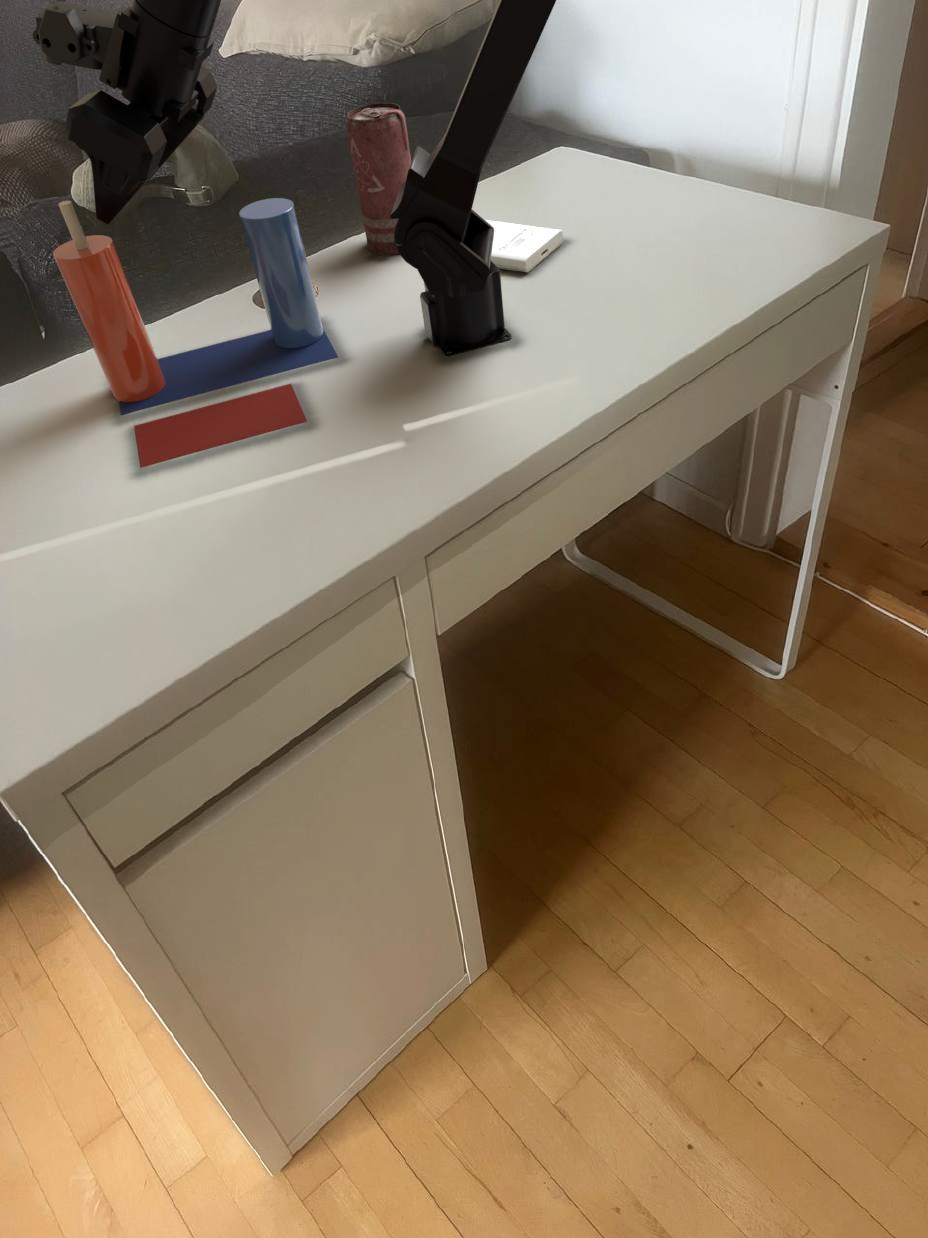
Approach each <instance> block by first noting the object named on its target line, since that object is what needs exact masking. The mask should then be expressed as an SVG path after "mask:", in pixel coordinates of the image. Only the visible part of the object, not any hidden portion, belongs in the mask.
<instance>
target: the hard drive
mask: <svg viewBox="0 0 928 1238" xmlns="http://www.w3.org/2000/svg"><path fill="white" fill-rule="evenodd" d="M484 220H485V221H486V222H488V223H489V224H490V225H491V226H492V227H493V228H494V238H493V246H492V254H491V261H492V262H493V263H494V264H495V265H496V266H497V267H498V268H499V269H501V270H509V271H514V272H524V273H529V272H530V271H532V270H533V269H535V268H536V266H538V265H539V264H540V263H541V262H542V261H544V260H545V259H546V258H547V257H549V255H551V253H553V252H554V251H556V250H557V248H558V247H560V246H561V245H562V243H563V241H564V230H563V229H557V228H549V227H541V226H534V225H526V224H518V223H512V222H506V221H505V222H504V221H498V220H497V221H496V220H490V219H484Z"/></svg>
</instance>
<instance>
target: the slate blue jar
mask: <svg viewBox="0 0 928 1238" xmlns="http://www.w3.org/2000/svg"><path fill="white" fill-rule="evenodd" d="M238 213H239V215H238V216H239V218H240V219H239V220H240V222H241V226H242V229H243V233H244V237H245V241H246V244H247V247H248V251H249V256H250V258H251V262H252V266H253V270H254V273H255V277H256V280H257V284H258V288H259V291H260V294H261V295H260V296H261V298H262V302H263V306H264V309H265V313H266V316H267V317H266V318H267V320H268V323H269V324H268V325H269V327H270V330H271V331H272V335H273V338H274V342H275V344H276V345H278V346H280V347H282V348H300V347H305V346H308V345H310V344H313V343H315V342H316V341H318V340H319V339H320V338H321V337H322V335H323V329H324V327H323V323H322V319H321V314H320V311H319V305H318V302H317V297H316V293H315V289H314V284H313V280H312V276H311V271H310V267H309V264H308V258H307V255H306V251H305V250H306V249H305V246H304V241H303V237H302V233H301V229H300V225H299V221H298V216H297V212H296V207H295V203H294V202H293V200H290V199H288V198H284V197H273V198H265V199H260V200H257V201H254V202H251V203H250V204H247V205H245V206H244V207H242V208H241V209H240V211H239V212H238Z"/></svg>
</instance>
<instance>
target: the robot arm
mask: <svg viewBox="0 0 928 1238" xmlns="http://www.w3.org/2000/svg"><path fill="white" fill-rule="evenodd" d="M556 2H557V0H499V1H498V2H497V5H496V8H495V10H494V12H493V15H492V18H491V20H490V23H489V24H488V28H487V30H486V32H485V34H484V37H483V40H482V42H481V44H480V47H479V49H478V52H477V53H476V57H475V60H474V62H473V64H472V66H471V69H470V72H469V74H468V77H467V79H466V83H465V84H464V87H463V89H462V92H461V94H460V97H459V99H458V102H457V104H456V106H455V109H454V111H453V114H452V116H451V119H450V121H449V124H448V125H447V129H446V131H445V133H444V135H443V137H442V138H441V139H440V141H439V142H438V144H437V145H436V147H435V148H434V150H433V151H432V152H431V153H429V152H428V151H427V150H426V149H424V148H423V147H421V146H420V145H417V146H416V147H415V150H414V152H413V155H412V158H411V164H410V167H409V170H408V174H407V179H406V181H405V182H404V183H403V184H402V185H401V186H400V189H399V192H398V195H397V198H396V201H395V204H394V206H393V209H392V212H391V215H390V217H391V219H398V220H397V223H396V226H395V231H394V243H395V244H396V247H397V249H398V251H399V255H400V256H401V258H402V259H403V260H404V261H405V263H406V264H408V265H409V266H411V267H412V268H414V269H416V271H418V274H419V275H420V278H421V279H422V281H423V285H424V291H422V292H420V295H419V299H420V307H421V313H422V319H423V327H424V332H425V336H426V338H428V340H429V342H430V343H431V344H432V345H433V346H434V347H438V348H439V350H440V351H441V353H442V354H443V356H445V357H453V356H456V355H457V356H458V355H460V354H463V353H468V352H471V351H475V350H478V349H481V348H486V347H489V346H493V345H495V344H500V343H503V342H507V341H511V340H512V338H513V336H512V334H511V333H510V332H509V330H508V329H507V328H506V327H505V316H504V315H505V314H504V303H503V301H504V300H503V290H502V280H501V279H502V278H501V270H500V269H501V268H498V267H497V266H496V265H495V264H494V263H493V262H492V261H491V254H492V246H493V238H494V228H493V227H492V226H491V225H490V224H489V223H488V222H486V221H485V220H486V219H484V218H483V217H482V216H481V215H479V214H478V213H477V212H476V211H475V210H474V209H473V207H474V206H473V205H474V202H475V197H476V193H477V189H478V184H479V181H480V176H481V173H482V170H483V166H484V164H485V161H486V159H487V157H488V155H489V153H490V151H491V148H492V146H493V144H494V142H495V139H496V137H497V135H498V133H499V131H500V129H501V127H502V124H503V121H504V119H505V117H506V115H507V113H508V110H509V108H510V106H511V104H512V102H513V99H514V97H515V94H516V93H517V90H518V88H519V85H520V83H521V81H522V79H523V77H524V74H525V72H526V70H527V67H528V65H529V63H530V61H531V58H532V56H533V55H534V52H535V49H536V48H537V45H538V42H539V41H540V39H541V36H542V34H543V31H544V29H545V27H546V24H547V22H548V21H549V18H550V16H551V13H552V11H553V9H554V7H555V5H556ZM221 3H222V0H131V4H130V6H129V7H127V8H126V9H124V10H122V9H121V10H120V11H118V12H116V11H114V10H111V9H105V8H101V7H96V6H91V5H86V4H82V3H77V2H71V1H56V2H53V3H51V4H49V5H48V6H46V7H44V8H42V9H41V10H38V12H37V16H35V23H36V26H35V30H33V32H32V39H33V42H35V43H36V44H37V45H39V46H40V51H41V52H42V53H43V55H44V60H45V62H47V63H49V64H52V65H55V66H61V65H62V64H64V65H65V64H66V65H70V66H75V67H79V68H85V69H90V70H94V71H95V70H97V71H100V74H99V77H98V81H99V82H101V83H103V84H105V85H106V86H108V87H110V88H111V89H113V90H116V89H119V90H120V91H121V92H120V95H121V96H122V97H123V98H124V99H125V100H127V101H128V102H129V103H128V104H126V103H125V102H123V101H121V100H120V99H118V98H116V97H114V96H112V95H110V94H109V93H107V92H105V91H103V90H102V89H100V90H97V91H94V92H91V93H87V94H85V95H84V96H83V97H81V98H80V99H79V100H78V101H76V102H75V103H74V104H72V105H71V106H70V107H69V108H68V111H67V115H66V120H65V124H64V129H63V133H64V135H65V137H66V138H67V140H68V141H70V142H72V143H73V144H74V146H75V147H77V148H78V149H79V150H82V151H83V152H84V153H85V154H86V156H87V157H88V159H89V161H90V166H91V172H92V182H93V184H92V185H93V194H94V197H93V198H94V209H95V217H96V219H97V220H98V221H100V222H102V223H103V224H106V225H110V224H111V223H112V222H113V221H114V220H115V219H116V217H117V216H118V215H119V214H120V213H121V212H122V210H124V208H125V207H126V206H127V205H128V204H129V202H130V201H132V199H133V198H134V197H135V196H136V195H137V193H138V192H139V191H140V190H141V189H142V188H143V187H144V185H145V184H147V183H148V182H149V181H150V180H151V179H152V178H153V177H154V175H155V174H156V173H157V172H158V171H159V170H160V169H161V167H162V166H163V165H164V164H165V163H166V162H167V160H168V159H169V158H171V156H172V154H174V153H175V151H176V150H177V149H178V148H179V147H180V146H181V144H183V142H184V141H185V140H186V139H187V138H188V136H189V135H190V134H191V133H192V132H193V131H194V130H195V128H196V127H198V125H199V124H200V123H201V122H202V120H203V119H204V118H205V115H206V113H208V111H209V110H211V108H212V106H213V103H214V99H215V97H216V94H217V90H218V85H217V83H216V80H215V78H214V76H213V74H212V73H213V72H212V70H210V69H209V68H206V67H205V66H203V62H204V61H205V60H206V59H207V58H208V57H209V56H210V55H211V53H212V50H213V48H214V43H215V41H214V40H213V39H211V36H212V32H213V29H214V26H215V22H216V19H217V16H218V13H219V9H220V7H221ZM196 102H197V104H196ZM195 105H196V106H195Z"/></svg>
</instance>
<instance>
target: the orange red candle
mask: <svg viewBox="0 0 928 1238" xmlns="http://www.w3.org/2000/svg"><path fill="white" fill-rule="evenodd" d="M58 207H59V209H60V212H61V215H62V217H63V219H64V221H65V224H66V226H67V227H66V228H67V229H68V232H69V234H70V236H71V240H69V241H66V242H64V243H62V244H60V245H59V246H58V247H57V248H55V249H54V251H53V253H52V255H53V258H54V261H55V263H56V265H57V268H58V270H59V272H60V275H61V278H62V280H63V281H64V284H65V286H66V288H67V292H68V293H69V295H70V298H71V300H72V302H73V305H74V307H75V310H76V312H77V314H78V316H79V319H80V322H81V323H82V326H83V329H84V331H85V333H86V335H87V337H88V341H89V342H90V344H91V346H92V348H93V351H94V354H95V356H96V358H97V360H98V363H99V365H100V368H101V371H102V372H103V374H104V377H105V379H106V381H107V384H108V386H109V388H110V392H111V393H112V395H113V397H114V398H115V399H116V400H117V401H118V402H119V401H122V402H136V401H141V400H144V399H147V398H150V397H152V396H154V395H156V394H157V393H159V392H160V391H161V390H162V389H163V388H164V386H165V384H166V381H165V378H164V375H163V373H162V370H161V368H160V365H159V362H158V360H157V359H158V357H157V354H156V352H155V350H154V346H153V344H152V341H151V338H150V336H149V334H148V331H147V328H146V325H145V323H144V320H143V318H142V315H141V313H140V309H139V307H138V304H137V302H136V300H135V297H134V294H133V291H132V288H131V286H130V283H129V281H128V278H127V276H126V273H125V270H124V267H123V265H122V262H121V259H120V257H119V254H118V252H117V249H116V246H115V244H114V242H113V239H112V238H111V237H110V236H107V235H103V234H102V235H101V234H96V235H95V234H94V235H85V233H84V230H83V228H82V227H83V226H82V225H81V222H80V220H79V217H78V215H77V212H76V210H75V207H74V204H73V202H72V201H71V200H63V201H61V202H59V203H58Z"/></svg>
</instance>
